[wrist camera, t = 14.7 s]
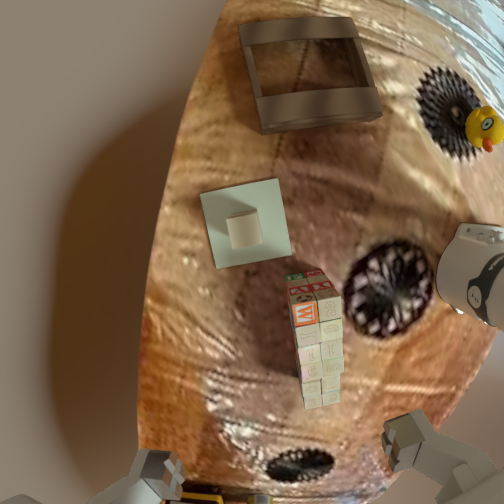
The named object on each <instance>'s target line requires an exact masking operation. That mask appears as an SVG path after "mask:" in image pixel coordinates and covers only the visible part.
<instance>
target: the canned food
mask: <svg viewBox="0 0 504 504" xmlns="http://www.w3.org/2000/svg"><path fill="white" fill-rule="evenodd" d="M247 504H273V498H272V496H270V495H267V494H254V495H250V496H249V497H248V498H247Z"/></svg>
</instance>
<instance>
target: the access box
mask: <svg viewBox="0 0 504 504" xmlns="http://www.w3.org/2000/svg"><path fill="white" fill-rule="evenodd" d="M238 30H239V38H240V42H241V46H242V50H243V54H244V59H245V63H246V67H247V71H248V75H249V80H250V84H251V88H252V93H253V97H254V101H255V106H256V110H257V115H258V119H259V124H260V128H261V133H262V135H267V134H272V133H278V132H285V131H291V130H298V129H305V128H312V127H320V126H329V125H338V124H349V123H361V122H371V121H373V120H375V119H377V118H379V117H381V116H383V114H382V112H383V109H382V105H381V101H380V98H379V94H378V91H377V87H375V84H374V81H373V78H372V75H371V71H370V68H369V65H368V62H367V59H366V56H365V54H364V51H363V48H362V45H361V42H360V40H359V38H360V37H359V34H358V32H357V29H356V27H355V24H354V22H353V19H352V18H351V17H302V18H287V19H277V20H268V21H260V22H253V23H246V24H240V25H238ZM323 38H340V39H341V41H342V44H343V47H344V50H345V53H346V56H347V59H348V62H349V65H350V68H351V71H352V74H353V78H354V81H355V85H356V87H355V88H336V89H323V90H313V91H303V92H295V93H287V94H280V95H273V96H267V97H263V96H262V92H261V87H260V83H259V79H258V75H257V71H256V67H255V63H254V59H253V55H252V51H251V47H250V46H252V45H259V44H266V43H274V42H282V41H292V40H304V39H323Z"/></svg>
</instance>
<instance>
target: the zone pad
mask: <svg viewBox="0 0 504 504" xmlns="http://www.w3.org/2000/svg"><path fill="white" fill-rule="evenodd" d="M200 197H201V202H202V207H203V211H204V216H205V220H206V225H207V229H208V234H209V238H210V243H211V247H212V251H213V256H214V260H215V264H216V268H217V269H220V268H225V267H231V266H236V265H241V264H247V263H252V262H257V261H263V260H268V259H273V258H279V257H284V256H289V255H292V252H291V246H290V241H289V235H288V229H287V224H286V218H285V213H284V208H283V202H282V197H281V192H280V187H279V181H278V178H276V179H270V180H265V181H260V182H254V183H249V184H244V185H239V186H235V187H230V188H225V189H220V190H216V191H211V192H207V193H203V194H200ZM254 209H257V211H258V216H259V221H260V226H261V231H262V239H263V244H259V245H254V246H248V247H243V248H238V249H233V250H232V245H231V241H230V236H229V231H228V227H227V222H226V219H227V218H228V217H229V216H230V215H231V214H234V213H239V212H244V211H249V210H254Z"/></svg>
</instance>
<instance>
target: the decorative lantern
mask: <svg viewBox="0 0 504 504" xmlns="http://www.w3.org/2000/svg"><path fill="white" fill-rule="evenodd" d="M165 504H225V502H224V500H223V497H222V488H221V487H218V488H217V491H216V493H204V492H193V491H184V490H183V491H182V496H181V500H180V501H179V500H167V499H166V503H165Z"/></svg>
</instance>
